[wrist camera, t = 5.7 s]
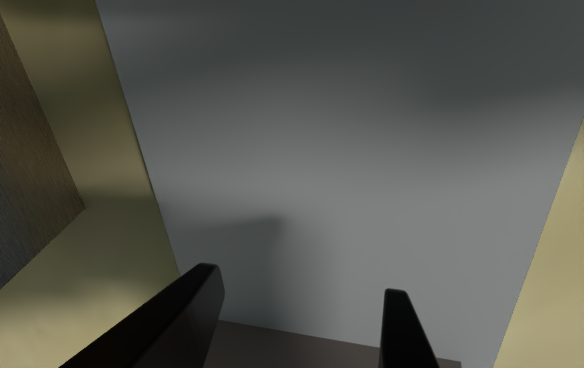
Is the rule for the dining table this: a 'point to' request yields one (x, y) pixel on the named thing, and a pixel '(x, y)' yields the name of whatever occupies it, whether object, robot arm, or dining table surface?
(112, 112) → the dining table surface
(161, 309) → the robot arm
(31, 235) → the steel block
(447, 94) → the vise body
